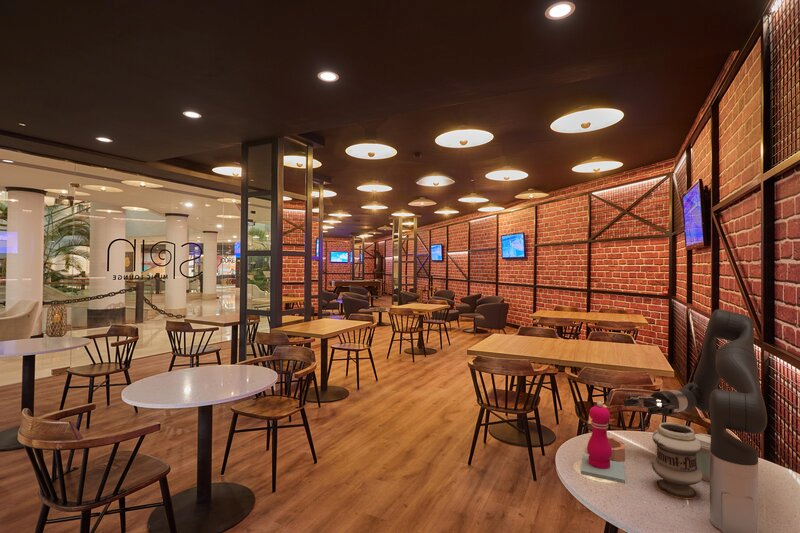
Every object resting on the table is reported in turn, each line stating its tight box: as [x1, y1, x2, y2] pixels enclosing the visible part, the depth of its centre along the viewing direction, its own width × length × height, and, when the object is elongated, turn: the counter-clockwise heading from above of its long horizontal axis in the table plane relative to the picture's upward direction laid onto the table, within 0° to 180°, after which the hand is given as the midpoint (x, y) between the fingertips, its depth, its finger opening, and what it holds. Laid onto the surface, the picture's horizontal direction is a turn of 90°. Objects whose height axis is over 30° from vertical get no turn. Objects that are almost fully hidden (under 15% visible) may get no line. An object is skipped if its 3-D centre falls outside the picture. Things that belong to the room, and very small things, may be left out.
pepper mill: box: [586, 400, 612, 469], centre depth 132 cm, size 7×7×20 cm
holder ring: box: [588, 436, 626, 462], centre depth 141 cm, size 11×11×4 cm
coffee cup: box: [694, 433, 711, 483], centre depth 126 cm, size 9×8×12 cm
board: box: [580, 454, 626, 484], centre depth 130 cm, size 12×12×1 cm
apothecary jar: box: [651, 422, 703, 500], centre depth 119 cm, size 12×12×18 cm
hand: (636, 406), depth 134 cm, fingers open, 8 cm apart
